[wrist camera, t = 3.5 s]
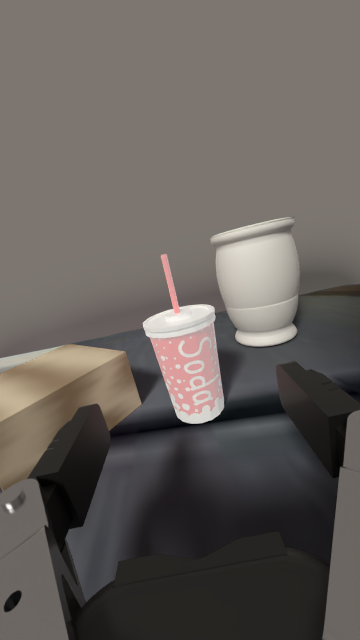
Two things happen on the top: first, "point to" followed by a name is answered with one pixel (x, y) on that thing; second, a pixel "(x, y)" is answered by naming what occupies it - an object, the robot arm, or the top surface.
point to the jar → (259, 280)
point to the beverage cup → (188, 356)
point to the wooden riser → (58, 401)
